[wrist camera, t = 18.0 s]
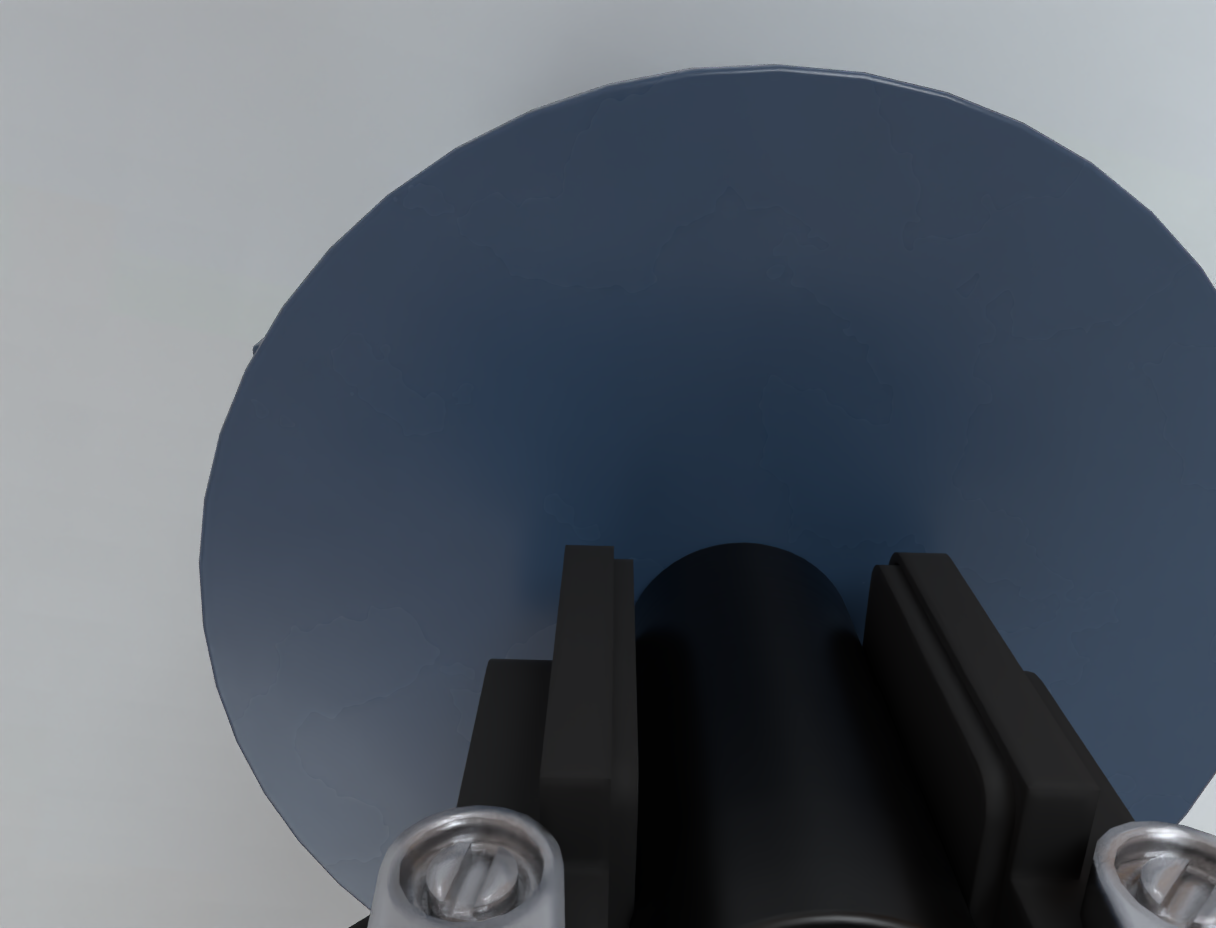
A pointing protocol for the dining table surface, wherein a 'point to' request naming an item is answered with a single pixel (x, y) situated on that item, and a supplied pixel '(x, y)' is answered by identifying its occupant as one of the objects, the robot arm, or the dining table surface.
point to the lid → (723, 474)
